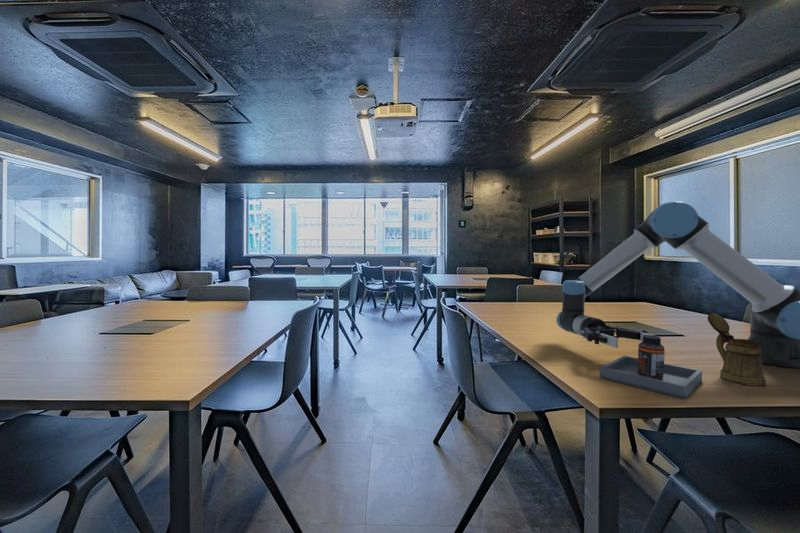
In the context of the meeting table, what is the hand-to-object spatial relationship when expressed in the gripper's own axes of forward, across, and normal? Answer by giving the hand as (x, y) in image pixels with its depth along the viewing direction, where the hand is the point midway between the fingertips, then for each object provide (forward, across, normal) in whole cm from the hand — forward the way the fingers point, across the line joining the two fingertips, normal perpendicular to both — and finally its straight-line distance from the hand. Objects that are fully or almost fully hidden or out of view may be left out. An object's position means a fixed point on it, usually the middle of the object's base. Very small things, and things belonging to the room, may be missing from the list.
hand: (638, 342), depth 102 cm
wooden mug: (+5, -25, -10) cm, 28 cm away
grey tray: (+4, 0, -9) cm, 10 cm away
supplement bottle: (+4, 0, -9) cm, 10 cm away
